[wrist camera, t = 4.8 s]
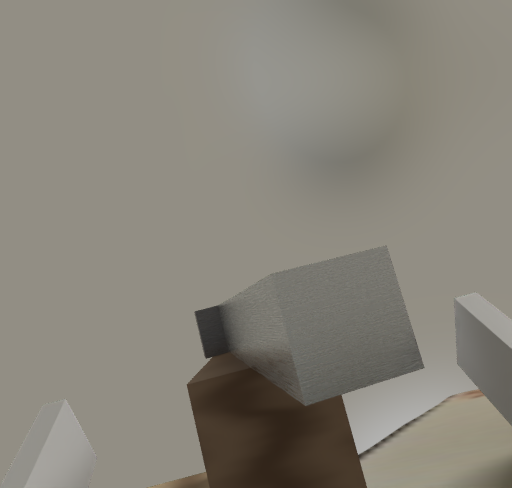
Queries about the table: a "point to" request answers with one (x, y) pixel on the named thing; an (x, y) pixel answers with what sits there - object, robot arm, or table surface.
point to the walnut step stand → (266, 434)
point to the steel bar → (318, 327)
